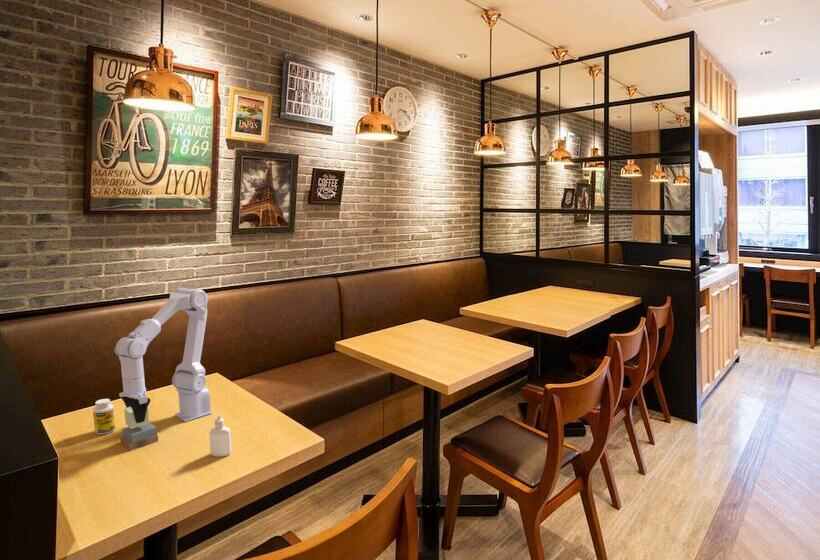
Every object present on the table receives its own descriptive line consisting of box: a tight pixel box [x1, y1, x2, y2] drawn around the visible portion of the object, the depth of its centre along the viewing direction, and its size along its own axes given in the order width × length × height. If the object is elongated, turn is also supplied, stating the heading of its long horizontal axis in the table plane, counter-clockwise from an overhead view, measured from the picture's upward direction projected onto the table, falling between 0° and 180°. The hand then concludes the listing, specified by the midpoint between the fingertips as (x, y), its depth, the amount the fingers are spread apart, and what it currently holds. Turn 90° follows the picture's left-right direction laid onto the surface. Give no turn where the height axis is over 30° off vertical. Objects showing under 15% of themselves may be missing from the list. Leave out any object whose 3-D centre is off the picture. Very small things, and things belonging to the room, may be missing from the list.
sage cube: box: [124, 407, 150, 429], centre depth 148 cm, size 5×5×5 cm
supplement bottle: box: [92, 398, 116, 436], centre depth 155 cm, size 6×6×10 cm
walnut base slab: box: [119, 434, 159, 452], centre depth 149 cm, size 8×8×2 cm
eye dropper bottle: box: [209, 414, 233, 458], centre depth 142 cm, size 4×6×12 cm
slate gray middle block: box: [121, 422, 158, 443], centre depth 149 cm, size 7×7×2 cm
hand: (137, 419), depth 148 cm, fingers closed on sage cube, 5 cm apart
